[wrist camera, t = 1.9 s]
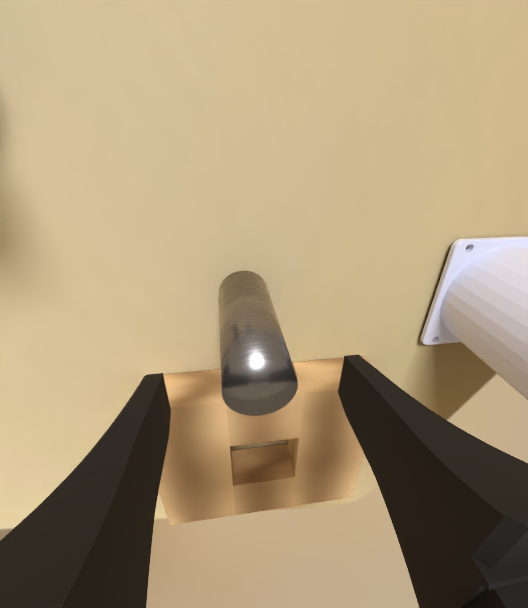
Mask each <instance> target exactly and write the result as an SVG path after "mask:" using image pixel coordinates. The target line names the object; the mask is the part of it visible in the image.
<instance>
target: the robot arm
mask: <svg viewBox="0 0 528 608" xmlns="http://www.w3.org/2000/svg"><path fill="white" fill-rule="evenodd" d="M468 245H469V247H468V248H467V249H466V247H467V246H468ZM420 340H421V342H422V343H423V344H424V345H433V344H445V343H456V342H462V343H463V344H464V345H465V346H466V347H467V348H468V349H470V350H471V351H472V352H473V353H474V354H475V355H477V356H478V357H479V358H480V359H481V360H482V361H483V362H485V363H486V364H487V365H488V366H489V367H490V368H492V369H493V370H494V371H495V372H496V373H497V374H498V375H500V376H501V377H502V378H503V379H504V380H505V381H507V382H508V383H509V384H510V385H511V386H512V387H513V388H515V389H516V390H517V391H518V392H519V393H520V394H521V395H523V396H524V397H525V398H526V399H527V400H528V236H521V237H498V238H474V239H459V240H457V241H455V242H454V243H453V244H452V246H451V249H450V252H449V255H448V258H447V261H446V263H445V266H444V269H443V272H442V275H441V278H440V281H439V284H438V287H437V290H436V293H435V296H434V299H433V302H432V305H431V308H430V311H429V314H428V317H427V320H426V323H425V326H424V329H423V332H422V335H421V338H420ZM338 394H339V397H340V400H341V403H342V406H343V409H344V412H345V414H346V417H347V419H348V421H349V423H350V425H351V427H352V429H353V431H354V434H355V436H356V438H357V440H358V442H359V444H360V446H361V448H362V450H363V452H364V454H365V456H366V458H367V460H368V462H369V464H370V466H371V468H372V471H373V473H374V475H375V477H376V480H377V482H378V485H379V487H380V490H381V493H382V496H383V498H384V501H385V504H386V506H387V509H388V512H389V515H390V518H391V520H392V523H393V526H394V529H395V531H396V534H397V538H398V540H399V543H400V546H401V549H402V553H403V556H404V558H405V562H406V565H407V568H408V571H409V574H410V578H411V581H412V584H413V588H414V591H415V594H416V598H417V601H418V604H419V608H528V463H526V462H524V461H521V460H519V459H517V458H515V457H513V456H511V455H509V454H507V453H505V452H502V451H501V450H499V449H497V448H495V447H493V446H490V445H489V444H487V443H485V442H483V441H481V440H480V439H478V438H476V437H474V436H472V435H470V434H468V433H467V432H465V431H463V430H461V429H460V428H458V427H456V426H455V425H453V424H452V423H450V422H448V421H447V420H445V419H443V418H442V417H440V416H439V415H437V414H436V413H434V412H433V411H431V410H430V409H428V408H427V407H425V406H424V405H422V404H421V403H420V402H418V401H417V400H415V399H414V398H413V397H411V396H410V395H409V394H407V393H406V392H405V391H403V390H402V389H401V388H399V387H398V386H397V385H395V384H394V383H393V382H392V381H390V380H389V379H388V378H387V377H385V376H384V375H383V374H382V373H381V372H379V371H378V370H377V369H376V368H374V367H373V366H372V365H371V364H370V363H368V362H367V361H366V360H365V359H363V358H362V357H361V356H360V355H350V356H344V361H343V367H342V372H341V378H340V383H339V388H338ZM170 418H171V408H170V403H169V399H168V394H167V390H166V385H165V380H164V376H163V373H161V374H150V375H146V376H145V377H144V378H143V379H142V381H141V383H140V384H139V386H138V387H137V389H136V390H135V392H134V393H133V395H132V396H131V398H130V399H129V401H128V402H127V404H126V405H125V407H124V408H123V409H122V411H121V412H120V414H119V415H118V416H117V418H116V419H115V421H114V422H113V423H112V425H111V426H110V427H109V429H108V430H107V431H106V432H105V434H104V435H103V436H102V437H101V439H100V440H99V441H98V442H97V444H96V445H95V446H94V447H93V449H92V450H91V451H90V452H89V453H88V455H87V456H86V457H85V458H84V459H83V460H82V461H81V463H80V464H79V465H78V466H77V467H76V468H75V469H74V470H73V471H72V472H71V474H70V475H69V476H68V477H67V478H66V479H65V480H64V481H63V482H62V483H61V484H60V485H59V486H58V487H57V488H56V489H55V490H54V491H53V492H52V493H51V494H50V495H49V496H48V497H47V498H46V499H45V500H44V501H43V502H42V503H41V504H40V505H39V506H38V507H37V508H36V509H35V510H34V511H33V512H32V513H30V514H29V515H28V516H27V517H26V518H25V519H24V520H23V521H22V522H21V523H19V524H18V525H17V526H16V527H15V528H14V529H13V530H12V531H11V532H10V533H9V534H7V535H6V536H5V537H4V538H3V539H2V540H1V541H0V608H146V600H147V588H148V576H149V575H148V574H149V564H150V554H151V543H152V534H153V524H154V515H155V508H156V502H157V496H158V491H159V486H160V481H161V476H162V470H163V465H164V460H165V455H166V450H167V445H168V439H169V431H170Z"/></svg>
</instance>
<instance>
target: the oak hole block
mask: <svg viewBox="0 0 528 608" xmlns="http://www.w3.org/2000/svg"><path fill="white" fill-rule="evenodd" d="M361 357H362V358H363V359H365V360H366V361H367V359H366V358H365V356H361ZM343 361H344V358H337V359H326V360H315V361H304V362H294V363H292V364H293V367H294V370H295V374H296V377H297V380H298V388H297V392H296V394H295V396H294V397H293V399H292V400H291V401H290V402H289V403H288V404H287V405H286V406H285V407H283V408H282V409H280V410H278V411H276V412H273V413H270V414H267V415H261V416H248V415H243V414H240V413H237V412H235V411H233V410H232V409H230V408H229V407H228V406H227V405H226V404H225V402H224V400H223V398H222V386H221V369H218V370H207V371H196V372H185V373H174V374H163V376H164V380H165V385H166V390H167V394H168V399H169V403H170V408H171V418H170V431H169V439H168V445H167V450H166V455H165V460H164V465H163V470H162V476H161V481H160V486H159V492H160V495H161V499H162V502H163V505H164V508H165V511H166V515H167V518H168V521H169V524H170V525H173V524H179V523H186V522H192V521H199V520H205V519H212V518H218V517H224V516H231V515H238V514H244V513H251V512H257V511H264V510H270V509H277V508H283V507H290V506H296V505H303V504H310V503H316V502H323V501H329V500H336V499H342V498H349V497H351V496H352V493H353V489H354V486H355V482H356V479H357V475H358V472H359V468H360V465H361V461H362V458H363V454H364V452H363V450H362V448H361V446H360V444H359V442H358V440H357V438H356V436H355V434H354V431H353V429H352V427H351V425H350V423H349V421H348V419H347V417H346V414H345V412H344V409H343V406H342V403H341V400H340V397H339V394H338V388H339V383H340V378H341V372H342V367H343ZM367 362H368V361H367ZM368 363H369V362H368ZM144 377H145V376H144ZM285 439H288V441H287V444H281V445H274V446H266V447H258V448H250V449H242V450H234V451H231V446H237V445H245V444H253V443H261V442H269V441H277V440H285Z"/></svg>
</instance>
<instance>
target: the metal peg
mask: <svg viewBox="0 0 528 608" xmlns="http://www.w3.org/2000/svg"><path fill="white" fill-rule="evenodd" d="M219 318H220V352H221V386H222V398H223V400H224V402H225V404H226V405H227V406H228V407H229V408H230V409H232V410H233V411H235V412H237V413H240V414H243V415H248V416H261V415H267V414H270V413H273V412H276V411H278V410H280V409H282V408H283V407H285V406H286V405H287V404H288V403H289V402H290V401H291V400H292V399H293V397H294V396H295V394H296V392H297V388H298V380H297V377H296V374H295V370H294V367H293V364H292V361H291V358H290V355H289V352H288V349H287V346H286V343H285V340H284V337H283V334H282V331H281V328H280V325H279V322H278V319H277V316H276V313H275V310H274V307H273V304H272V301H271V298H270V295H269V292H268V289H267V286H266V284H265V282H264V280H263V279H262V278H261V277H260V276H259V275H257V274H255V273H253V272H249V271H239V272H235V273H232V274H231V275H229V276H227V277H226V278H225V279H224V280H223V282H222V283H221V285H220V288H219Z"/></svg>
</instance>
